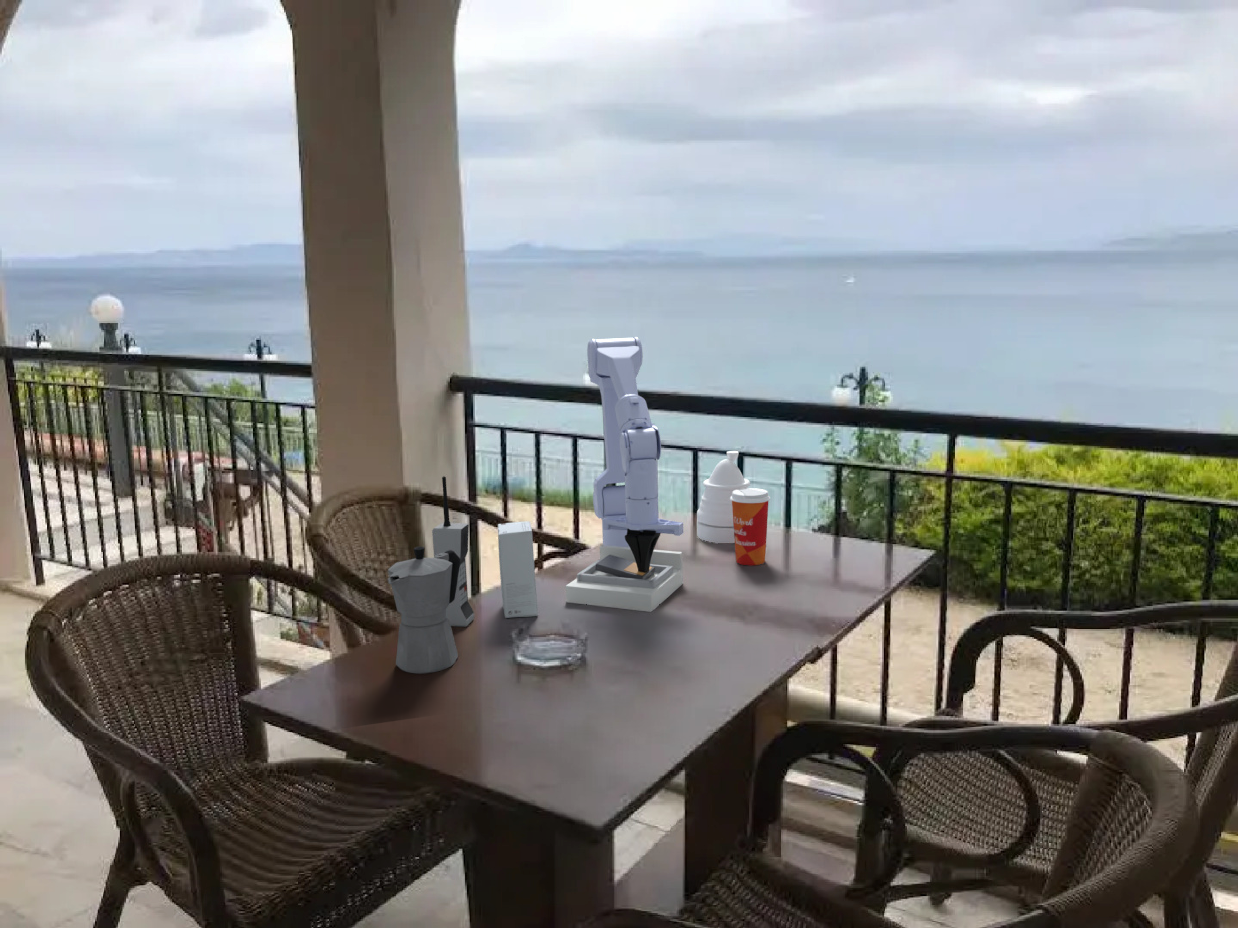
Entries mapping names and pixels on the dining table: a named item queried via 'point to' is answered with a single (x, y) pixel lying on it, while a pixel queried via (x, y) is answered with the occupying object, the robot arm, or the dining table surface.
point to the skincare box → (517, 569)
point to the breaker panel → (628, 582)
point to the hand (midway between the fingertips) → (643, 571)
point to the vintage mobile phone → (457, 540)
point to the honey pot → (720, 501)
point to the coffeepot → (425, 610)
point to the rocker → (622, 568)
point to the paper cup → (750, 525)
